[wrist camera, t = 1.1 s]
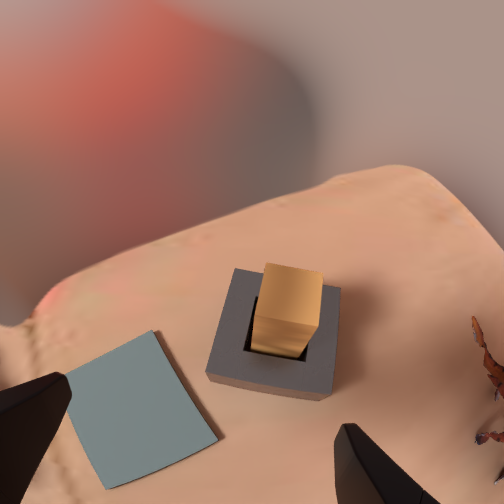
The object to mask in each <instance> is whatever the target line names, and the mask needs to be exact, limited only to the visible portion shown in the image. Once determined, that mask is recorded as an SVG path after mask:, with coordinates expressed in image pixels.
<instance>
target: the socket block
mask: <svg viewBox="0 0 504 504" xmlns="http://www.w3.org/2000/svg"><path fill="white" fill-rule="evenodd" d="M263 275H264V274H263V273H257V272H252V271H247V270H242V269H237V268H235V269H234V273H233V276H232V280H231V283H230V287H229V290H228V294H227V297H226V300H225V304H224V307H223V311H222V314H221V318H220V321H219V325H218V328H217V332H216V335H215V339H214V343H213V346H212V350H211V353H210V357H209V360H208V364H207V367H206V371H205V372H206V374H207V376H208V378H209V380H210V381H212V382H216V383H220V384H224V385H228V386H233V387H237V388H242V389H247V390H252V391H257V392H262V393H267V394H273V395H279V396H285V397H292V398H299V399H306V400H314V401H320V400H322V399H324V398H326V397H328V396H330V395H331V393H332V385H333V377H334V368H335V359H336V348H337V337H338V324H339V309H340V289H341V288H338V287H333V286H327V285H322V295H321V306H320V316H319V325H318V328H317V329H316V331H315V333H314V334H313V336H312V337H311V339H310V340H309V342H308V343H307V345H306V346H305V348H304V349H303V351H302V353H301V354H300V357H299V361H296V360H290V359H284V358H278V357H273V356H267V355H262V354H257V353H252V352H247V351H245V350H246V346H247V342H248V337H249V333H250V329H251V324H252V320H253V316H254V315H255V311H256V306H257V302H258V297H259V293H260V288H261V284H262V279H263Z"/></svg>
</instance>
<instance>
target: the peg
mask: <svg viewBox="0 0 504 504" xmlns="http://www.w3.org/2000/svg"><path fill="white" fill-rule="evenodd" d="M322 283H323V273H319V272H314V271H309V270H303V269H298V268H293V267H287V266H282V265H277V264H271V263H266V266H265V270H264V275H263V279H262V284H261V288H260V293H259V297H258V302H257V306H256V311H255V315H254V324H253V334H252V343H251V352H252V353H257V354H262V355H267V356H273V357H278V358H284V359H290V360H297V358H298V357H299V356H300V354H301V353H302V351H303V349H304V348H305V346H306V345H307V343H308V342H309V340H310V339H311V337H312V336H313V334H314V333H315V331H316V329H317V328H318V325H319V316H320V306H321V295H322Z"/></svg>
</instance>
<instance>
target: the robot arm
mask: <svg viewBox="0 0 504 504" xmlns="http://www.w3.org/2000/svg"><path fill="white" fill-rule="evenodd" d="M71 399H72V391H71V388H70V385H69V382H68V379H67V377H66V375H64V374H61V373H59V372H54V373H51V374H48V375H45V376H43V377H40V378H37V379H34V380H31V381H29V382H26V383H23V384H20V385H17V386H14V387H11V388H8V389H5V390H2V391H0V504H20V503H21V501H22V499H23V496H24V494H25V492H26V490H27V488H28V486H29V484H30V482H31V480H32V478H33V476H34V474H35V472H36V470H37V468H38V466H39V464H40V462H41V460H42V458H43V456H44V454H45V453H46V451H47V449H48V447H49V445H50V443H51V442H52V440H53V438H54V436H55V434H56V432H57V430H58V428H59V426H60V424H61V422H62V419H63V417H64V415H65V412H66V410H67V408H68V405H69V403H70V401H71ZM334 465H335V488H336V495H337V502H338V504H440V503H439V502H438V501H437V500H435V499H434V498H433V497H432V496H431V495H430V494H429V493H427V492H426V491H425V490H423V488H422V487H421V486H420V485H419V484H418V483H416V482H415V481H414V480H413V479H412V478H411V477H410V476H409V475H408V474H407V473H406V472H405V471H404V470H403V469H402V468H400V467H399V466H398V465H397V464H396V463H395V462H394V461H393V460H392V459H391V458H390V457H389V456H388V455H387V454H386V453H385V452H384V451H383V450H382V449H381V448H380V447H379V446H378V445H377V444H376V443H375V442H374V441H373V440H372V439H371V438H370V437H369V436H368V435H367V434H366V433H365V432H364V431H363V430H362V429H361V428H360V427H359V426H358V425H357V424H355V423H345V424H342V425H341V427H340V429H339V432H338V434H337V436H336V438H335V441H334Z"/></svg>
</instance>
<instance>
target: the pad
mask: <svg viewBox="0 0 504 504" xmlns="http://www.w3.org/2000/svg"><path fill="white" fill-rule="evenodd" d="M65 375H66V377H67V379H68V382H69V385H70V388H71V391H72V399H71V401H70V403H69V405H68V408H67V412H68V414H69V417H70V419H71V422H72V424H73V426H74V429H75V431H76V433H77V436H78V438H79V440H80V442H81V444H82V446H83V448H84V451H85V453H86V455H87V457H88V458H89V460H90V462H91V464H92V466H93V468H94V470H95V472H96V473H97V475H98V477H99V479H100V481H101V482H102V484H103V486H104V487H105V489H106V490H107V489H110V488H113V487H116V486H119V485H122V484H124V483H127V482H130V481H132V480H135V479H138V478H140V477H143V476H145V475H148V474H150V473H152V472H155V471H157V470H159V469H162V468H164V467H166V466H168V465H171V464H173V463H175V462H177V461H179V460H181V459H183V458H185V457H188V456H190V455H192V454H194V453H196V452H198V451H199V450H201V449H203V448H205V447H207V446H209V445H211V444H213V443H215V442H216V441H218V438H217V437H216V435H215V434H214V433H213V431H212V430H211V428H210V427H209V425H208V424H207V422H206V421H205V419H204V418H203V416H202V415H201V413H200V412H199V410H198V409H197V407H196V406H195V404H194V402H193V401H192V399H191V398H190V396H189V394H188V393H187V391H186V390H185V388H184V386H183V385H182V383H181V381H180V380H179V378H178V376H177V374H176V373H175V371H174V369H173V367H172V366H171V364H170V362H169V360H168V359H167V357H166V355H165V353H164V351H163V349H162V348H161V346H160V344H159V342H158V340H157V338H156V336H155V334H154V332H153V331H152V330H150V331H149V332H147V333H145V334H143V335H141V336H139V337H137V338H135V339H133V340H131V341H129V342H127V343H126V344H124V345H122V346H120V347H118V348H116V349H114V350H112V351H110V352H108V353H106V354H104V355H102V356H100V357H98V358H96V359H94V360H92V361H90V362H88V363H86V364H84V365H83V366H81V367H79V368H77V369H75V370H73V371H71V372H69V373H67V374H65Z"/></svg>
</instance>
